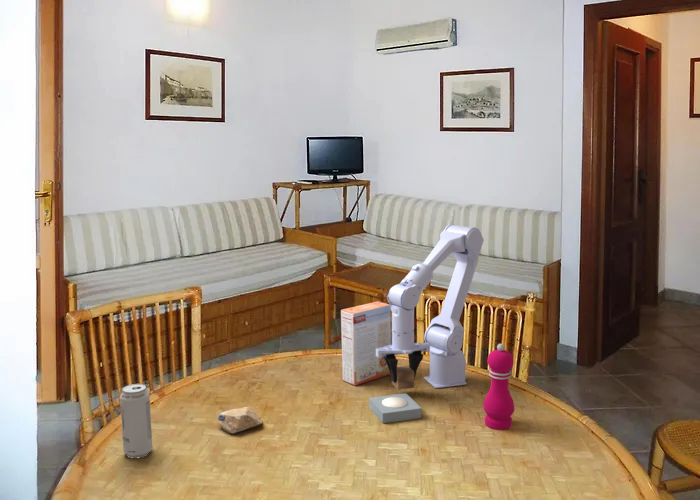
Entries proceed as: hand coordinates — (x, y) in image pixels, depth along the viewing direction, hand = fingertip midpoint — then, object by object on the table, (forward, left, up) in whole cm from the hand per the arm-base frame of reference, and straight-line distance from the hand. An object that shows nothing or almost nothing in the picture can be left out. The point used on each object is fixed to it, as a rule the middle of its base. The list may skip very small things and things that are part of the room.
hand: (402, 379), depth 178 cm
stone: (+43, +6, -5) cm, 44 cm away
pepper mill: (-15, +24, -4) cm, 29 cm away
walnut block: (0, 0, -2) cm, 2 cm away
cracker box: (+5, -15, -4) cm, 16 cm away
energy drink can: (+67, +13, -4) cm, 69 cm away
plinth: (+6, +10, -4) cm, 13 cm away
